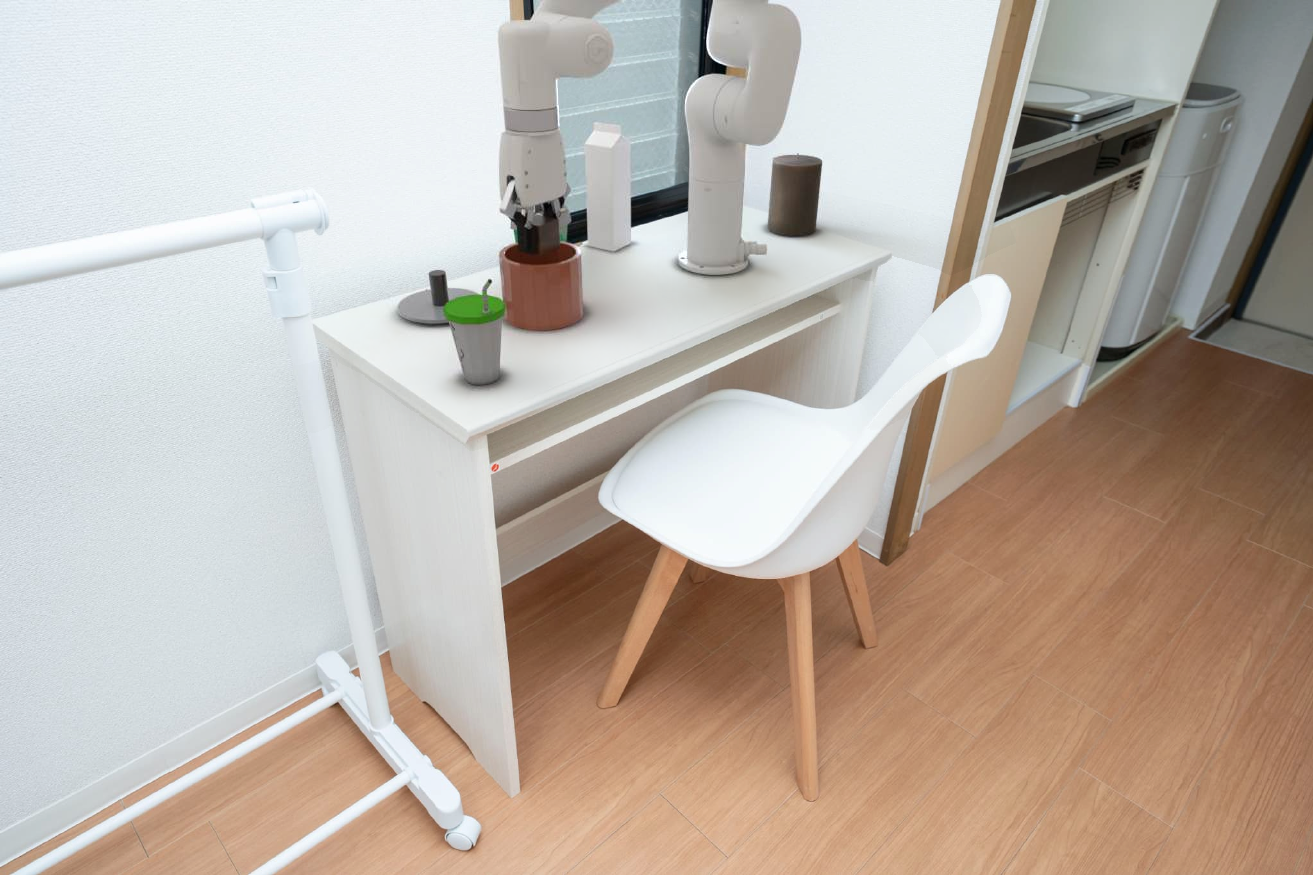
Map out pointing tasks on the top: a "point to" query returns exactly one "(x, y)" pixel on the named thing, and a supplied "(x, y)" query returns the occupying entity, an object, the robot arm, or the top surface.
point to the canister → (542, 287)
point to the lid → (431, 300)
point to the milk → (608, 187)
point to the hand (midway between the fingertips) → (539, 246)
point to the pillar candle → (794, 194)
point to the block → (546, 234)
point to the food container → (563, 223)
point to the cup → (477, 334)
